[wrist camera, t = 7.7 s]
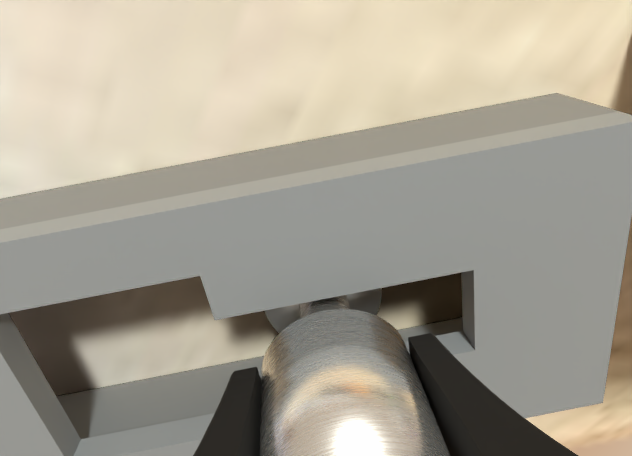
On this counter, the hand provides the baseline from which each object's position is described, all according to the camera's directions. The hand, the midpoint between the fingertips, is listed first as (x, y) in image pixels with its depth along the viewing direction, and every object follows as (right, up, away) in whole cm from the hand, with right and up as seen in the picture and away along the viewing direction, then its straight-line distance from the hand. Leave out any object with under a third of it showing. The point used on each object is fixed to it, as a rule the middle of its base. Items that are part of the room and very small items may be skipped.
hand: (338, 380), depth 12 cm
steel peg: (0, +2, +4) cm, 5 cm away
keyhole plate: (-3, +2, +5) cm, 6 cm away
